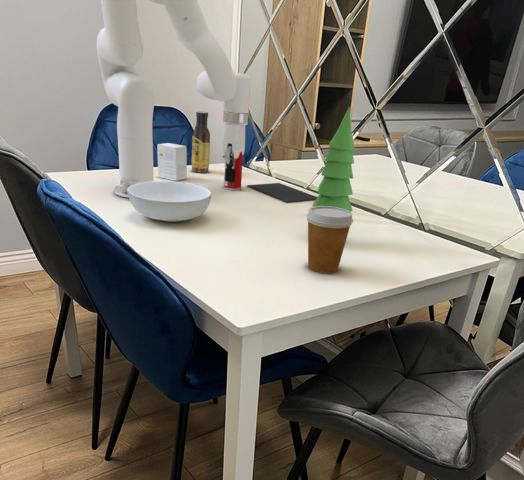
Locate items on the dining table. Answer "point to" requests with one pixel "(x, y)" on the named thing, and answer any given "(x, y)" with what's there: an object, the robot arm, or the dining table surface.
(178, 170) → the small box
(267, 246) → the dining table surface
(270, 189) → the placemat
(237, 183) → the soda can
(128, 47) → the robot arm
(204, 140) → the sauce bottle
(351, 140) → the decorative tree
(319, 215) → the disposable coffee cup
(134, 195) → the serving bowl
